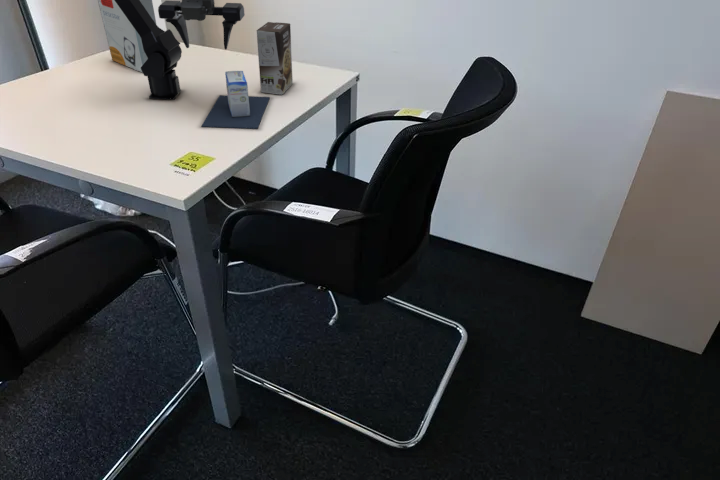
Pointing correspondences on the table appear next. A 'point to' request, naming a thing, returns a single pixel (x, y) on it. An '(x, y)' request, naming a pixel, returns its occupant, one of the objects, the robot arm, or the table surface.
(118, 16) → the hard drive box
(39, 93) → the table surface
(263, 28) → the coffee box
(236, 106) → the medicine box
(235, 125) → the mat
